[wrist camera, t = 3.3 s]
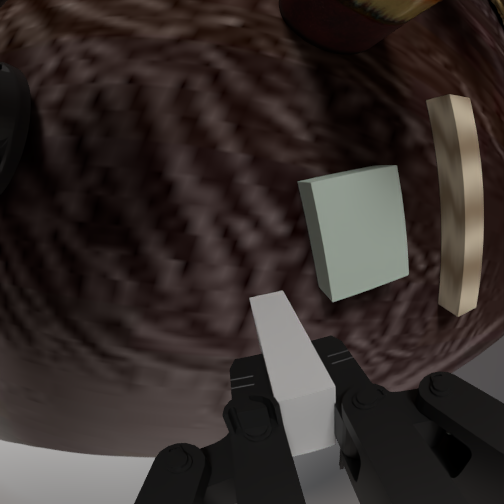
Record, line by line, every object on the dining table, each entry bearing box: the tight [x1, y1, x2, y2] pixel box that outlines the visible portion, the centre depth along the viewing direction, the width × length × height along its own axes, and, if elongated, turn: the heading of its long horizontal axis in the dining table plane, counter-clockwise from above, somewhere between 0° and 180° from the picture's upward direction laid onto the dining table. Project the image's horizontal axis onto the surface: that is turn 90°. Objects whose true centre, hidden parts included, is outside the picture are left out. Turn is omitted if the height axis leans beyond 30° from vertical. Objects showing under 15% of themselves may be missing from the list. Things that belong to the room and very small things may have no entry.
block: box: [298, 165, 409, 302], centre depth 24 cm, size 10×8×4 cm
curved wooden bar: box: [426, 94, 484, 317], centre depth 24 cm, size 24×4×4 cm, turn 11°
